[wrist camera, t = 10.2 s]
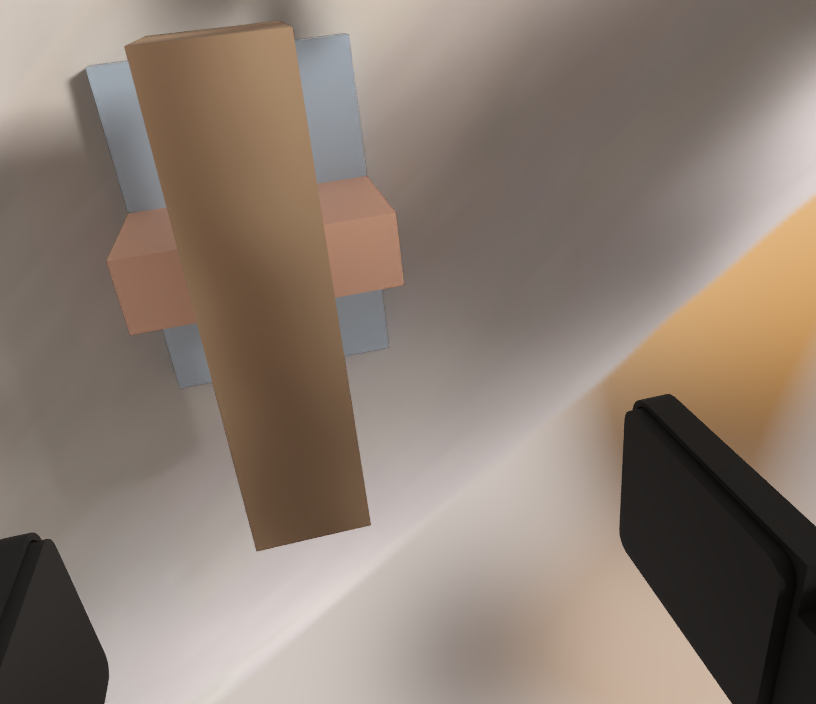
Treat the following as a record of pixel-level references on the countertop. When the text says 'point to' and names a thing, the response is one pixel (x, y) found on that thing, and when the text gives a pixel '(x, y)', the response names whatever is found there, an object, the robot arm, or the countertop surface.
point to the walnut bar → (256, 268)
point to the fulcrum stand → (338, 192)
